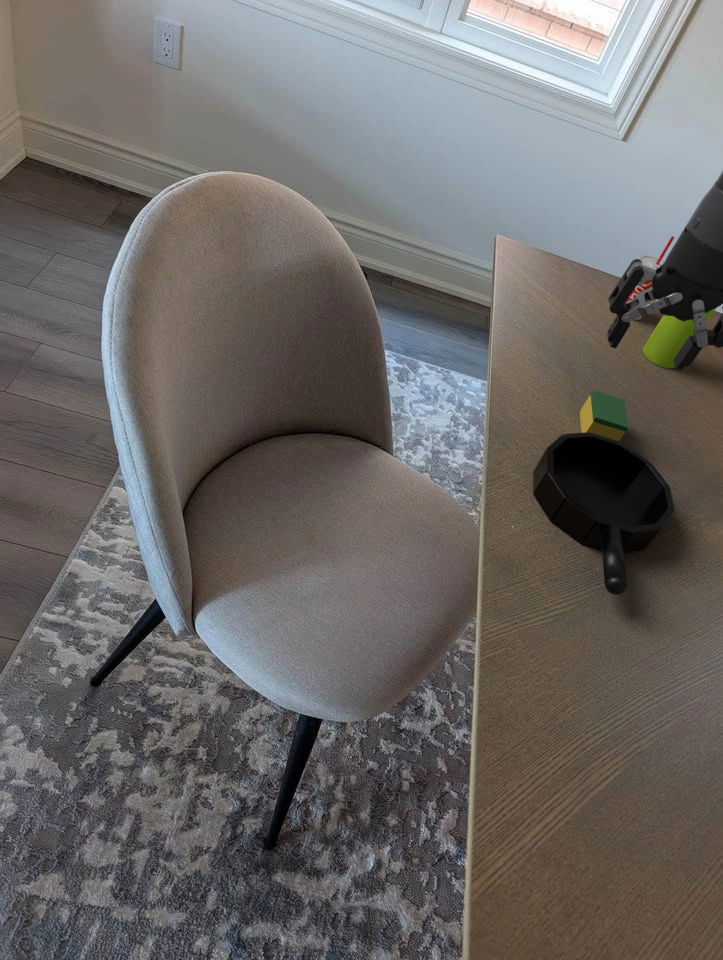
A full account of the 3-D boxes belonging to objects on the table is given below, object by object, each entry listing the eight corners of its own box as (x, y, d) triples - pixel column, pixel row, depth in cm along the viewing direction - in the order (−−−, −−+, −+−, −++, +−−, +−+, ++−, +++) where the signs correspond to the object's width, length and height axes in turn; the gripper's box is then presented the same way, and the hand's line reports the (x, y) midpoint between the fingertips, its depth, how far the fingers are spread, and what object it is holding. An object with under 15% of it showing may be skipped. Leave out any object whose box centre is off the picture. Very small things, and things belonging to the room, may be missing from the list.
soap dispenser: (635, 356, 117) (708, 240, 103) (648, 340, 122) (719, 228, 108) (669, 376, 116) (747, 261, 102) (681, 359, 120) (757, 247, 107)
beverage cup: (605, 305, 127) (647, 229, 117) (623, 298, 130) (666, 224, 121) (634, 326, 124) (680, 250, 114) (652, 317, 128) (698, 243, 118)
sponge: (579, 411, 103) (592, 389, 100) (610, 421, 103) (624, 399, 100) (581, 439, 99) (595, 417, 96) (613, 449, 99) (628, 427, 96)
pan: (533, 441, 96) (546, 417, 93) (648, 477, 96) (664, 454, 94) (532, 587, 78) (549, 564, 76) (672, 630, 79) (694, 608, 76)
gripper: (775, 240, 84) (693, 355, 95) (656, 199, 83) (588, 320, 94) (792, 272, 78) (703, 390, 89) (664, 229, 77) (591, 354, 89)
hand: (644, 354), depth 92 cm, fingers open, 8 cm apart
